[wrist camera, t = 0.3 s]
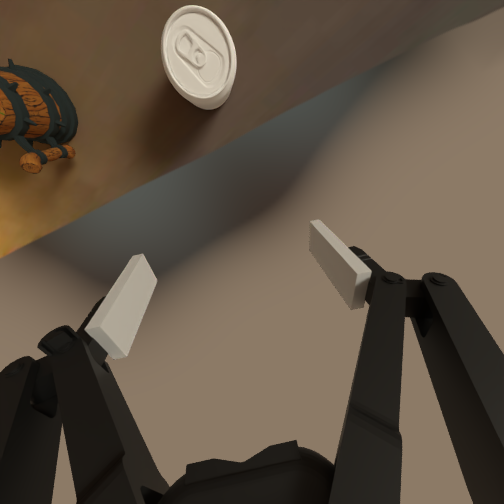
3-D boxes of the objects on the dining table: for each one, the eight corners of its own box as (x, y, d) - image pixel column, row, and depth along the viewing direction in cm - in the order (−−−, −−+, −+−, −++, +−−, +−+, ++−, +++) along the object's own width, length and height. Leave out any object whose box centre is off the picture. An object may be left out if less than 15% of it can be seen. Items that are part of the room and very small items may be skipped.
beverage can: (214, 121, 34) (211, 121, 24) (168, 83, 31) (143, 63, 21) (242, 72, 32) (252, 49, 22) (195, 24, 28) (181, -31, 18)
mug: (-22, 86, 29) (-145, 67, 19) (34, 48, 27) (-67, 7, 18) (61, 173, 36) (2, 192, 26) (109, 146, 34) (66, 155, 25)
